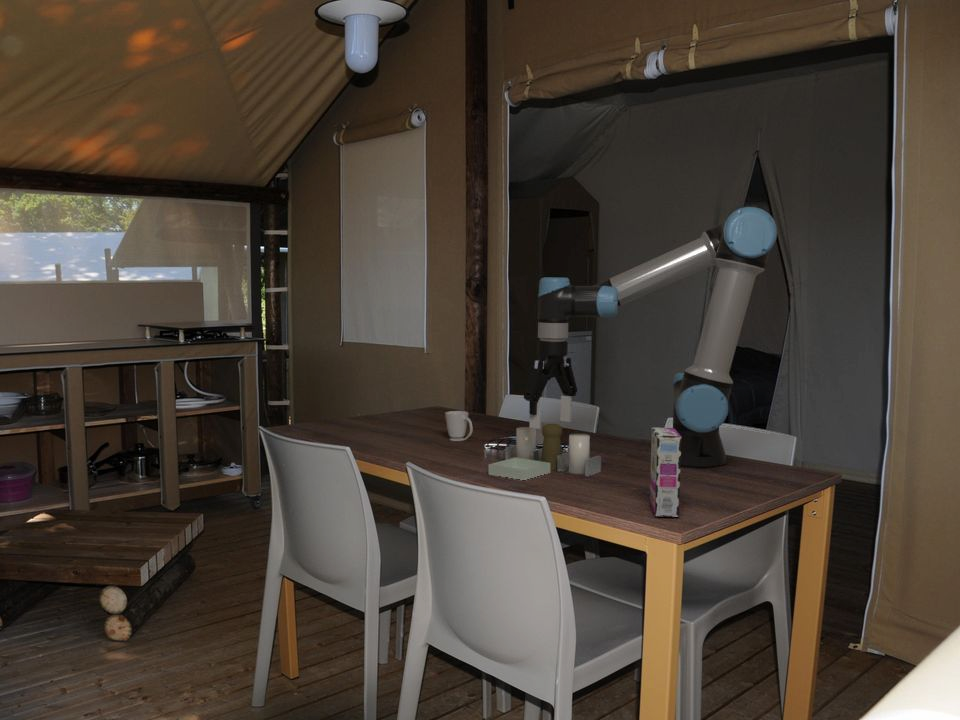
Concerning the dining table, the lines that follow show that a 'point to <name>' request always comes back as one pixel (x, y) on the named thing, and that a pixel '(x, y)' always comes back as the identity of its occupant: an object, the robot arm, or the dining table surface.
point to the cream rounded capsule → (525, 442)
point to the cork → (551, 444)
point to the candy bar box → (665, 472)
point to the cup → (458, 425)
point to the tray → (519, 468)
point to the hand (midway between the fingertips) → (550, 424)
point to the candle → (539, 432)
